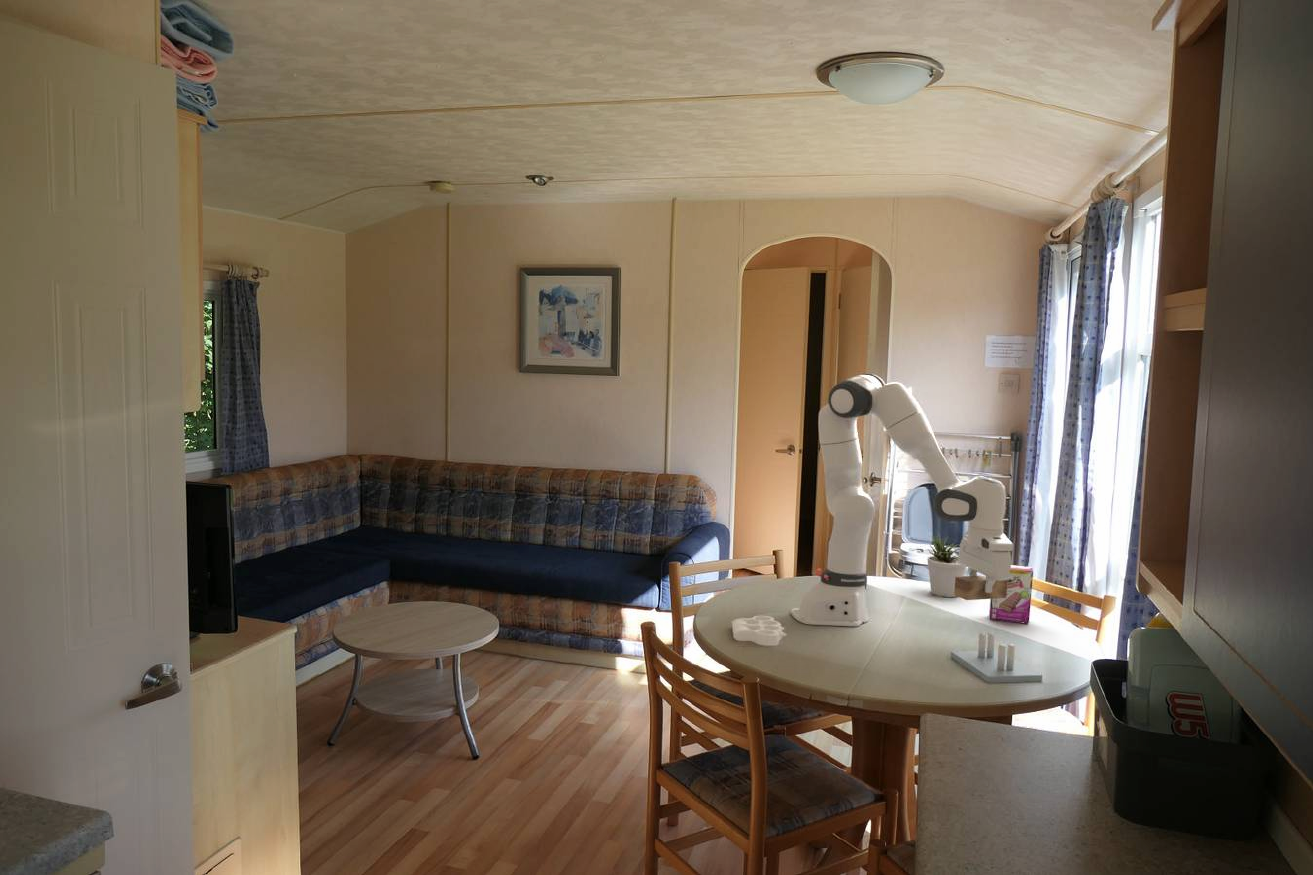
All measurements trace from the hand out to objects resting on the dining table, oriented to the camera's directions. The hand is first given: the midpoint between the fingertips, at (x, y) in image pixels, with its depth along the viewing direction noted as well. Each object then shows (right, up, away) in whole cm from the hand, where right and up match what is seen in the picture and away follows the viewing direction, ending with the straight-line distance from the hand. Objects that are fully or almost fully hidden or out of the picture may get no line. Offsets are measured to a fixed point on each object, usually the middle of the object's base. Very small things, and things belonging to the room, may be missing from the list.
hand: (980, 588), depth 233 cm
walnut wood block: (0, -2, 0) cm, 2 cm away
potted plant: (+9, -12, +56) cm, 58 cm away
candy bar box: (+19, -14, +27) cm, 36 cm away
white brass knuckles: (-59, -14, +5) cm, 61 cm away
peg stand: (-3, -17, -16) cm, 24 cm away
